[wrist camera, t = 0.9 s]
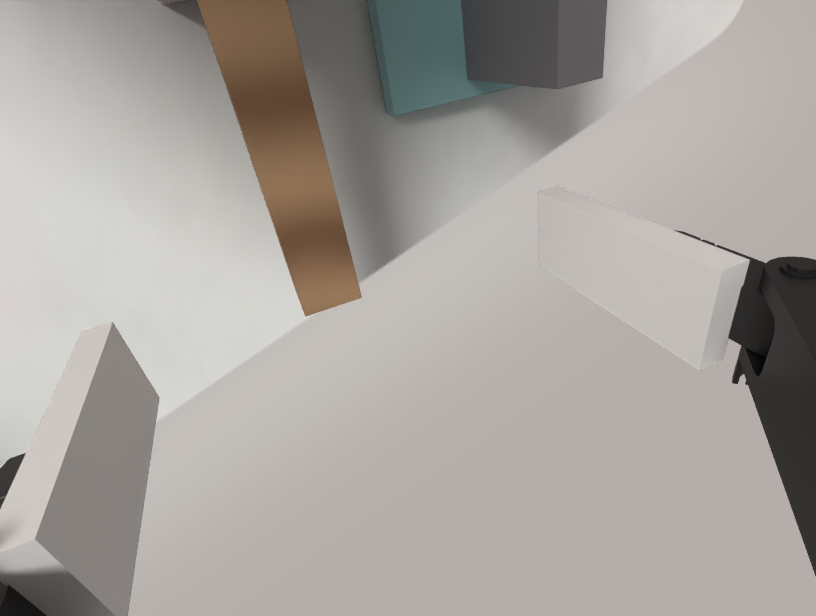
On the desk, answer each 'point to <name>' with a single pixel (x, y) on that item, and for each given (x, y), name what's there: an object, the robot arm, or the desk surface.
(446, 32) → the stand
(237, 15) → the walnut rod
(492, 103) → the desk surface
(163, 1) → the riser block
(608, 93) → the desk surface
